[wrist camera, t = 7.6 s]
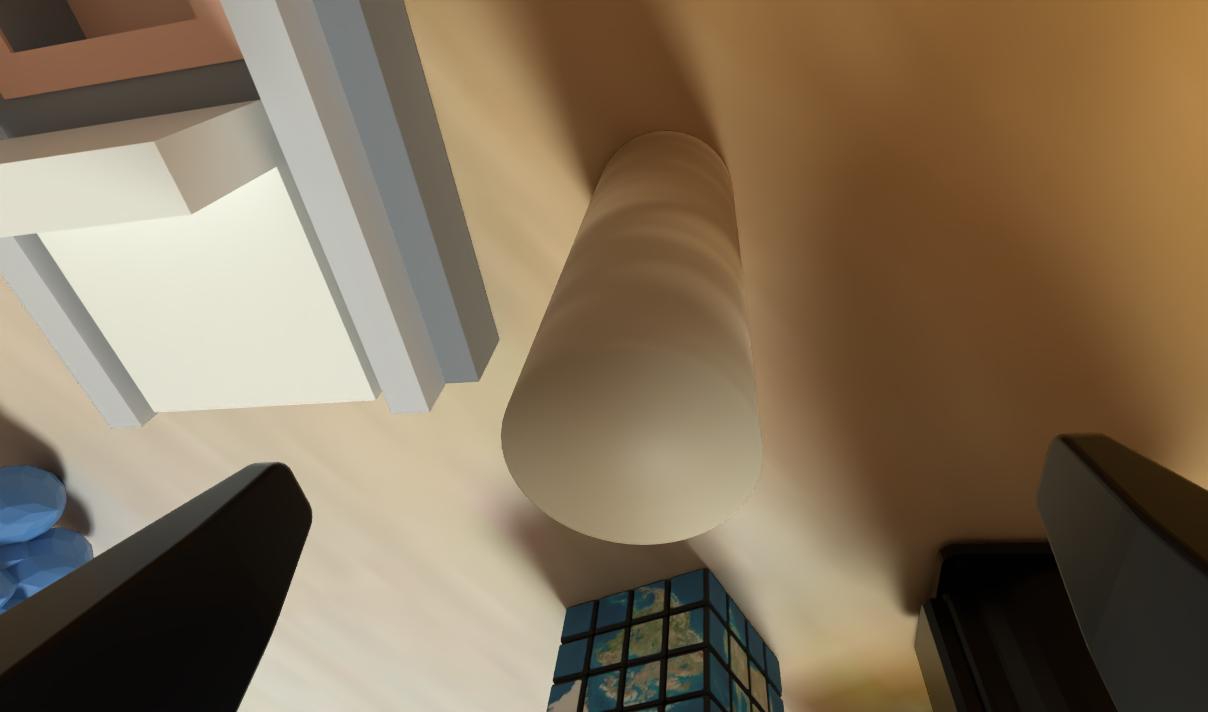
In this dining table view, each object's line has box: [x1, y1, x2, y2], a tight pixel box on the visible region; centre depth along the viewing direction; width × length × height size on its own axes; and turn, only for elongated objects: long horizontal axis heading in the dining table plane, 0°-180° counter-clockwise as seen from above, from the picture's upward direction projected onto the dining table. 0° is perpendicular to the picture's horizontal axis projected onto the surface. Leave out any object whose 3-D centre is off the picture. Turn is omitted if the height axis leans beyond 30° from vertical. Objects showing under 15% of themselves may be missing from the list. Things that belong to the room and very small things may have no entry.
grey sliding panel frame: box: [0, 0, 499, 428], centre depth 14 cm, size 11×16×3 cm
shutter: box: [0, 99, 382, 412], centre depth 14 cm, size 6×7×3 cm
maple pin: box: [501, 131, 763, 545], centre depth 12 cm, size 3×3×9 cm
